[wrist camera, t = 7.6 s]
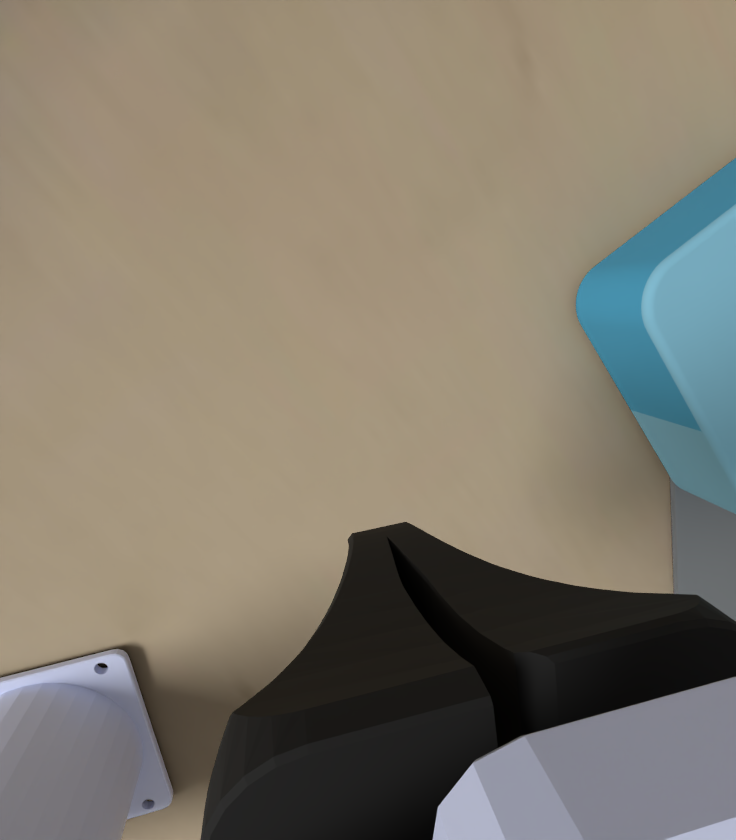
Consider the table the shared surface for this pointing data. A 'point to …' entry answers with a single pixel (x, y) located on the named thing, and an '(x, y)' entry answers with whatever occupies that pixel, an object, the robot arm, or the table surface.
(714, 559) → the mat
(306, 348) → the table surface
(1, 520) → the table surface
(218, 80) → the table surface
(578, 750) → the robot arm
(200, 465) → the table surface
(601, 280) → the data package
